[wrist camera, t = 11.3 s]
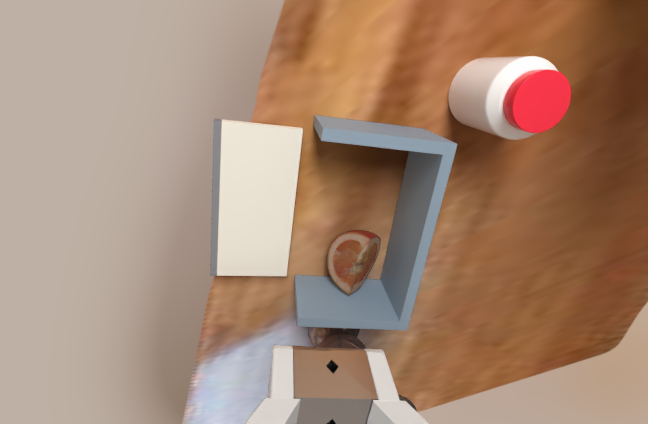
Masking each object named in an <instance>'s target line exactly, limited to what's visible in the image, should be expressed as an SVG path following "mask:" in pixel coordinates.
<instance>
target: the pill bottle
mask: <svg viewBox="0 0 648 424" xmlns="http://www.w3.org/2000/svg"><path fill="white" fill-rule="evenodd" d="M570 100H571V88H570V84H569V82H568V80H567V78H566V77H565V76H564V75H563V74H562V73H560V72H558V70H557V69H556V67H555V66H554V65H553V64H552V63H551V62H549V61H548V60H546V59H544V58H541V57H536V56H517V57H487V58H479V59H475V60H473V61H471V62H469V63H467V64H466V65H465V66H463V67H462V68H461V69H460V70H459V71H458V72H457V74H456V75H455V77H454V78H453V81H452V83H451V85H450V89H449V95H448V102H449V107H450V110H451V113H452V114H453V116H454V117H455V118H456V120H457V121H459V122H460V123H462V124H464V125H466V126H469V127H472V128H475V129H478V130H481V131H484V132H487V133H490V134H493V135H496V136H499V137H503V138H506V139H512V140H517V139H524V138H527V137H530V136H532V135H534V134H536V133H540V132H544V131H546V130H548V129H550V128H552V127H553V126H555V125H556V124H557V123H558V122H559V121H560V120H561V119H562V118H563V116H564V115H565V113H566V111H567V109H568V107H569V104H570Z"/></svg>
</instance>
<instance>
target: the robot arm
mask: <svg viewBox="0 0 648 424" xmlns="http://www.w3.org/2000/svg"><path fill="white" fill-rule="evenodd" d="M245 424H429V423H428V422H427V421H426V420H425V419H424V418H423V417H422V416H421V415H420V414H419V413H418V412H417V411H416V410H415V409H414V408H412V407H411V406H410V405H409V404H408V403H407V402H406V401H400V399H399V396H398V393H397V390H396V387H395V384H394V380H393V377H392V374H391V371H390V368H389V365H388V362H387V359H386V356H385V353H384V351H383V350H382V349H351V348H320V347H305V346H293V347H292V346H283V345H274V346H273V351H272V359H271V368H270V376H269V386H268V396H267V398H264V400H263V401H262V402H261V404H260V405H259V406H258V407H257V409H256V410H255V411H254V412H253V414H252V415H251V416H250V418H249V419H248V420H247V421H246V423H245Z"/></svg>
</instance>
